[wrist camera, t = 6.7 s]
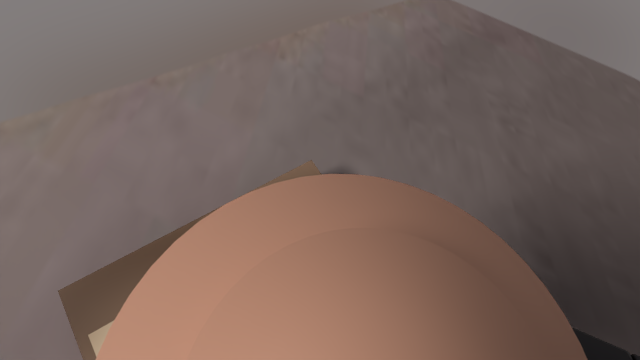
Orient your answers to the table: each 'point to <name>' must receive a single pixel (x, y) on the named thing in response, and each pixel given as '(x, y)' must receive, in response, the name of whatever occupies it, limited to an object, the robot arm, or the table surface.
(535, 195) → the table surface
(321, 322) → the lidded jar
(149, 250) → the plinth
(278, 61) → the table surface
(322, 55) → the table surface
